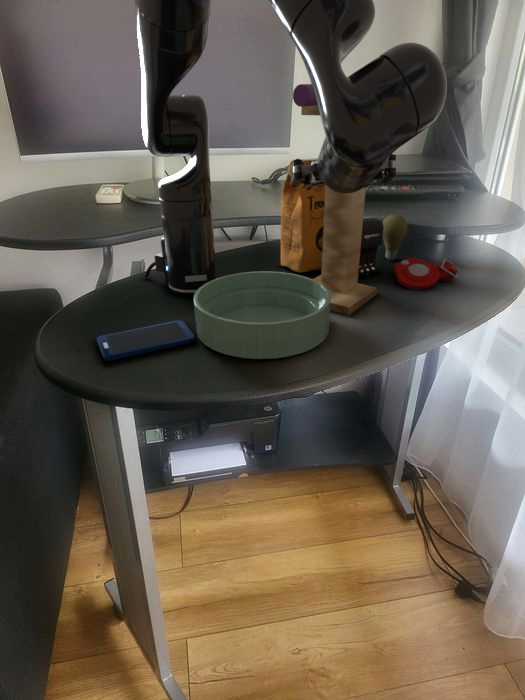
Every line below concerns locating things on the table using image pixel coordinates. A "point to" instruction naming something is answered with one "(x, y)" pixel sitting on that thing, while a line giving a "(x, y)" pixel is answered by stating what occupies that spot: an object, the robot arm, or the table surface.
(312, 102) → the glue stick
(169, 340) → the cell phone
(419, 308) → the table surface
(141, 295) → the table surface
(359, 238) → the stand
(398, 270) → the tracker holder
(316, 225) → the coffee package
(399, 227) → the light bulb
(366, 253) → the battery charger
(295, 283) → the bowl
